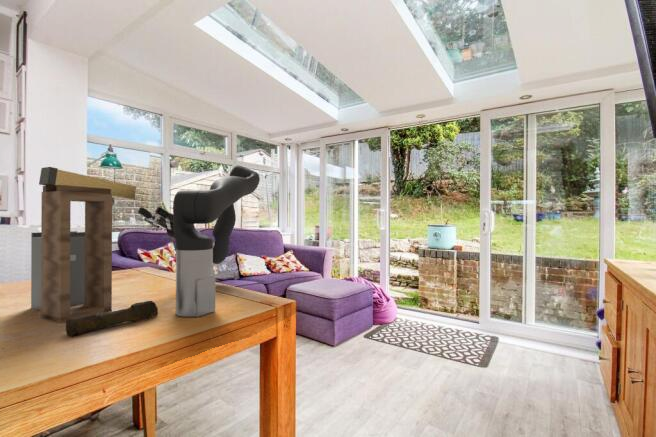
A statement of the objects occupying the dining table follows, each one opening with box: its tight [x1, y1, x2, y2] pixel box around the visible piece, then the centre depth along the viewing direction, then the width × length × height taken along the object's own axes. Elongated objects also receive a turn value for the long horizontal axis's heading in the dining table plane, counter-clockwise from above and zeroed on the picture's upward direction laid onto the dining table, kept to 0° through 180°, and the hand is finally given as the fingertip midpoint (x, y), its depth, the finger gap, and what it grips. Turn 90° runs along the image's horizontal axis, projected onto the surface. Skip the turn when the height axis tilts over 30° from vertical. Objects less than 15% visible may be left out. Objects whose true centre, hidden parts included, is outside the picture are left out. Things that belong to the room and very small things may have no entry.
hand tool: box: [65, 300, 159, 338], centre depth 77 cm, size 19×4×5 cm, turn 139°
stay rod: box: [38, 166, 137, 201], centre depth 89 cm, size 4×22×4 cm, turn 153°
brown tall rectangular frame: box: [40, 185, 113, 324], centre depth 86 cm, size 9×12×34 cm
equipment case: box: [30, 230, 85, 311], centre depth 95 cm, size 9×11×21 cm
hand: (148, 209), depth 104 cm, fingers open, 8 cm apart
